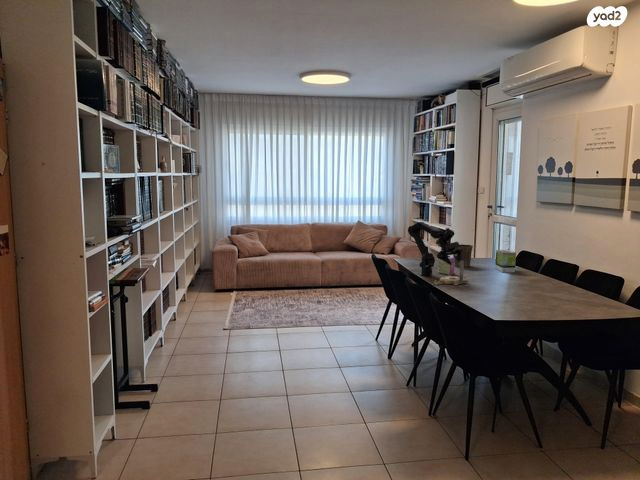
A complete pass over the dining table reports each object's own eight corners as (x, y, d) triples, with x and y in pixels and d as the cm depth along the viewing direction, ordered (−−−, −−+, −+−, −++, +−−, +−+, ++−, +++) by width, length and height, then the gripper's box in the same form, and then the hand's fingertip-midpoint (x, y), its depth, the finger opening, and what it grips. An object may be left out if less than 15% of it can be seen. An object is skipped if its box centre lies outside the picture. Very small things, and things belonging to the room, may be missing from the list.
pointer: (435, 284, 316) (435, 281, 316) (433, 284, 318) (433, 280, 318) (441, 284, 318) (441, 280, 318) (438, 283, 320) (438, 280, 320)
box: (454, 273, 352) (454, 257, 351) (449, 274, 349) (450, 258, 347) (442, 271, 360) (442, 255, 359) (437, 272, 357) (437, 256, 355)
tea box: (515, 272, 356) (516, 252, 354) (501, 272, 356) (502, 252, 354) (508, 268, 371) (508, 249, 369) (494, 268, 371) (495, 249, 369)
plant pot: (446, 265, 387) (447, 244, 385) (462, 263, 394) (463, 243, 392) (460, 268, 373) (461, 247, 371) (477, 266, 379) (477, 246, 377)
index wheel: (430, 280, 328) (430, 258, 326) (453, 277, 337) (454, 255, 336) (450, 286, 311) (451, 262, 309) (474, 282, 321) (475, 259, 319)
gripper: (440, 238, 318) (451, 257, 310) (461, 236, 327) (473, 255, 319) (431, 249, 326) (443, 268, 318) (453, 247, 335) (464, 265, 326)
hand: (456, 263), depth 320 cm, fingers open, 9 cm apart
